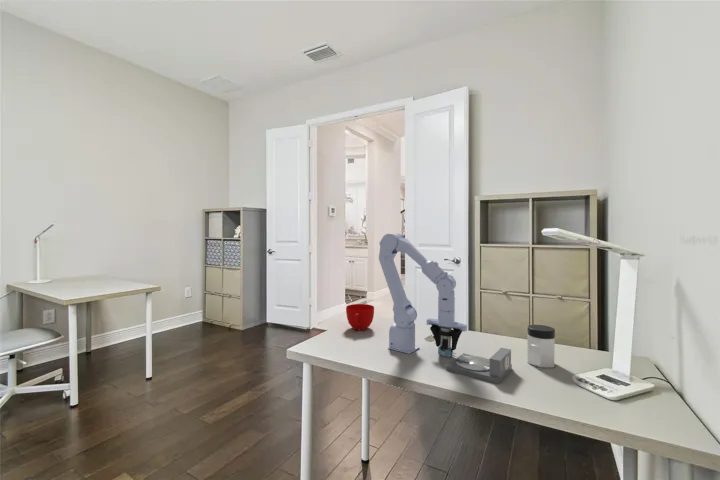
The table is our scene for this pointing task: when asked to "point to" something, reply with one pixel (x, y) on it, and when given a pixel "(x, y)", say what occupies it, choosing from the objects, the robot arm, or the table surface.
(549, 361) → the jar
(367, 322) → the ceramic cup
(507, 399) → the table surface
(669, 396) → the table surface
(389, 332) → the robot arm
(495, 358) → the postal scale
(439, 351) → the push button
